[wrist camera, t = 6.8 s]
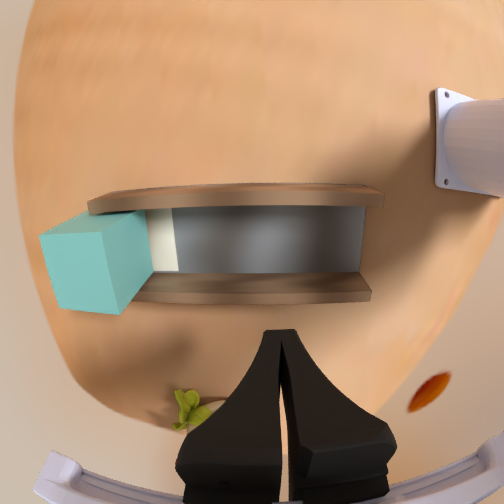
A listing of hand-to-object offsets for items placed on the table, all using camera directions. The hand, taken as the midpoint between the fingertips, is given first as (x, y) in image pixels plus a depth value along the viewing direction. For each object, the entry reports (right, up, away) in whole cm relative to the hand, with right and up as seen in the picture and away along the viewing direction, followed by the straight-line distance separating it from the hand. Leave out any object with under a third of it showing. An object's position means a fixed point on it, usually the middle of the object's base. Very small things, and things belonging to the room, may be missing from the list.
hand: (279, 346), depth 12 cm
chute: (-2, +5, +8) cm, 10 cm away
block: (-11, +5, +8) cm, 14 cm away
